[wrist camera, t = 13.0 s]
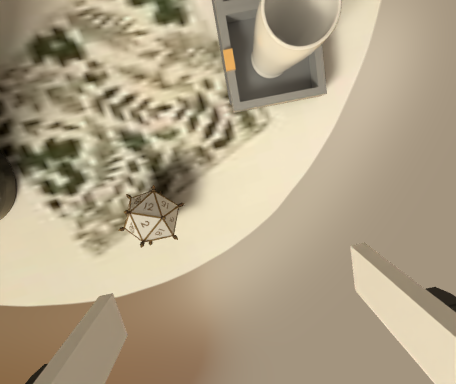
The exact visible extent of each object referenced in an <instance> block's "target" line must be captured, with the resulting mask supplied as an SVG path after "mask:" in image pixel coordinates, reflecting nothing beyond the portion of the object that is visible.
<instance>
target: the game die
mask: <svg viewBox="0 0 456 384" xmlns="http://www.w3.org/2000/svg"><path fill="white" fill-rule="evenodd" d="M151 188H152V191H150V192H147V193H144V194H141V195H138V196H135V197H131V196H130V195H128V194H126V195H127V198H129V199H130V202H129V206H128V210H126V211H124V213H125V214H127V216H126V220H125V225H124V227H122V228H120V229H119V230H118V231H124V229H126V230H127V231H128V232H130V233H131V234H132V235H134V236H135V237H137V238H138V239H139V240H141V241H142V242H141V244H140V246H141V247H143V246H144V244H145V243H144V242H148V241H149V244H150V245H151V244H152V241H154V240H158V239H162V238H167V237H171V236H173V238H174V239H177V240H178V238H177V236H176V235H174V232H175V226H176V221H177V215H178V210H179V207H181V206H183V205H184V204H185V203H180V204H179V205H178V204H176V203H174V202H173V201H171V200H169V199H168V198H166V197H164V196H162V192H161V191H159V193H157V192H156V191H155V186H154V185H153V186H152V187H151Z"/></svg>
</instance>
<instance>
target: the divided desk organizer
mask: <svg viewBox="0 0 456 384" xmlns="http://www.w3.org/2000/svg"><path fill="white" fill-rule="evenodd" d="M259 2H260V0H212V4H213V10H214V16H215V21H216V27H217V33H218V39H219V44H220V50H221V56H222V61H223V67H224V73H225V79H226V84H227V90H228V96H229V101H230V105H232V107H233V113H236V112H241V111H246V110H251V109H256V108H262V107H267V106H272V105H277V104H282V103H288V102H293V101H298V100H303V99H308V98H314V97H319V96H322V95H324V94H327V90H326V80H325V70H324V59H323V49H322V44H321V45H320V46H319V47H318V48H317V49H316V50H315V51H314V52H313V53H312V54H311V55H309V56H308V57H307V58H305V59H304V60H302V61H301V62H299V63H297V64H296V65H294V66H293V67H291V68H289V69H288V70H286V71H285V72H284V73H283V74H281V75H280V76H278V77H276V78H265V77H262V76H260V75H259V74H258V73H257V72H256V71H255V69H254V68H253V65H252V62H251V53H252V49H253V39H254V25H255V18H256V13H257V9H258V5H259Z"/></svg>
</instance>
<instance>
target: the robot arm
mask: <svg viewBox="0 0 456 384" xmlns="http://www.w3.org/2000/svg"><path fill="white" fill-rule="evenodd" d="M15 195H16V182H15V177H14V173H13V171H12V168H11V166H10V164H9V162H8V160H7V159H6V157H5V156H4V155H3V154H2V152H1V151H0V220H1V219H2V218H3V217H4V216H5V215H6V214H7V213H8V212H9V210H10V209H11V207H12V205H13V203H14V200H15ZM351 255H352V264H353V274H354V283H355V290H356V292H357V293H358V294H359V295H360V296H361V298H362V299H363V300H364V301H365V302H366V303H367V305H368V306H369V307H370V308H371V309H372V311H373V312H374V313H375V314H376V315H377V316H378V318H379V319H380V320H381V321H382V322H383V323H384V324H385V326H386V327H387V328H388V329H389V330H390V332H391V333H392V334H393V335H394V336H395V338H396V339H397V340H398V341H399V342H400V343H401V345H402V346H403V347H404V348H405V349H406V350H407V352H408V353H409V354H410V355H411V356H412V357H413V359H414V360H415V361H416V362H417V363H418V365H419V366H420V367H421V368H422V369H423V371H424V372H425V373H426V374H427V375H428V376H429V378H430V379H431V380H432V381H433V382H434V383H435V384H456V297H455V296H454V295H452V294H451V293H448V292H446V291H444V290H441V289H439V288H436V287H432V288H428V289H424V288H423V287H422V286H421V285H419V284H418V283H417V282H415V281H414V280H413V279H411V278H410V277H409V276H408V275H406V274H405V273H404V272H402V271H401V270H400V269H398V268H397V267H396V266H394V265H393V264H392V263H391V262H389V261H388V260H386V259H385V258H384V257H383V256H381V255H380V254H379V253H377V252H376V251H375V250H373V249H372V248H371V247H370V246H368V245H367V244H366V243H361V244H356V245H351ZM126 337H127V332H126V329H125V327H124V324H123V321H122V318H121V315H120V312H119V309H118V307H117V304H116V301H115V298H114V295H113V293H112V294H108V295H103V296H99V297H98V299H97V300H96V301H95V303H94V304H93V305H92V307H91V308H90V309H89V311H88V312H87V313H86V314H85V316H84V317H83V318H82V320H81V321H80V322H79V324H78V325H77V326H76V328H75V329H74V330H73V332H72V333H71V334H70V336H69V337H68V338H67V340H66V341H65V342H64V344H63V345H62V346H61V347H60V349H59V350H58V351H57V353H56V354H55V356H54V357H53V358H52V359H51V361H50V362H49V363H48V364H44V365H43V366H42V367H41V368H40V369H39V370H38V371H37V372H36V373H34V374H33V375H32V376H31V377H30V378H29V380H28V381H27V382H26V383H25V384H105V382H106V380H107V378H108V376H109V374H110V372H111V369H112V367H113V365H114V363H115V361H116V359H117V357H118V354H119V352H120V350H121V348H122V346H123V344H124V342H125V340H126Z"/></svg>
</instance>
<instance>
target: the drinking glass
mask: <svg viewBox="0 0 456 384" xmlns="http://www.w3.org/2000/svg"><path fill="white" fill-rule="evenodd" d="M341 6H342V0H260V2H259V5H258V9H257V13H256V18H255V25H254V39H253V49H252V53H251V62H252V65H253V68H254V69H255V71H256V72H257V73H258V74H259V75H260V76H262V77H265V78H276V77H278V76H280V75H281V74H283V73H284V72H285V71H286V70H288V69H289V68H291V67H293V66H294V65H296V64H297V63H299V62H301V61H302V60H304V59H305V58H307V57H308V56H309V55H311V54H312V53H313V52H314V51H315V50H316V49H317V48H318V47H319V46H320V45H321V44H322V43H323V42H324V41H325V40H326V39H327V38H328V36H329V35H330V34H331V33H332V31H333V30H334V28H335V26H336V24H337V22H338V20H339V17H340V13H341Z"/></svg>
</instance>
